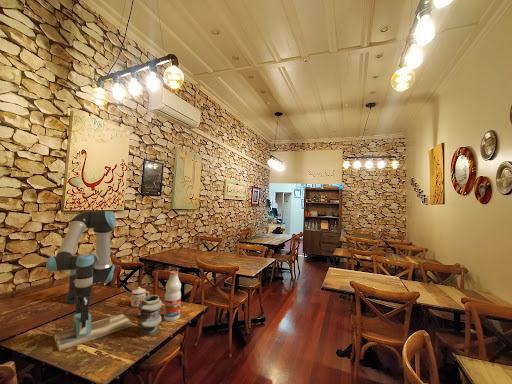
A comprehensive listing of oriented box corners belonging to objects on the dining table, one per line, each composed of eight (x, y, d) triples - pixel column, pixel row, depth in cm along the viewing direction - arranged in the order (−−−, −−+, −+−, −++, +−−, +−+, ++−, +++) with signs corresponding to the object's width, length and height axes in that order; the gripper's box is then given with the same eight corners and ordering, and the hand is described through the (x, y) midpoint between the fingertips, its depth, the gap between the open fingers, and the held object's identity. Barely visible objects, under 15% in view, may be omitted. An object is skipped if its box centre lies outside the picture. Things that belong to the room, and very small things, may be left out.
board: (53, 337, 120) (54, 327, 120) (122, 316, 143) (122, 308, 143) (58, 351, 109) (59, 340, 110) (131, 326, 133) (132, 317, 133)
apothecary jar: (136, 339, 121) (138, 303, 122) (137, 327, 132) (139, 294, 133) (161, 334, 126) (163, 300, 127) (160, 323, 137) (162, 292, 138)
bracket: (73, 332, 122) (73, 314, 122) (87, 327, 126) (87, 310, 126) (76, 338, 117) (76, 320, 117) (91, 332, 121) (91, 315, 121)
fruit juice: (178, 313, 150) (181, 269, 152) (180, 320, 142) (183, 273, 143) (163, 315, 146) (165, 270, 148) (164, 322, 138) (166, 274, 139)
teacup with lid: (134, 308, 154) (135, 290, 155) (128, 304, 160) (129, 287, 161) (151, 303, 164) (152, 286, 164) (145, 299, 169) (146, 282, 170)
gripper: (70, 282, 126) (67, 325, 125) (79, 292, 112) (76, 341, 111) (87, 279, 132) (84, 320, 130) (97, 288, 118) (94, 335, 117)
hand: (80, 330), depth 121 cm, fingers closed on bracket, 7 cm apart
